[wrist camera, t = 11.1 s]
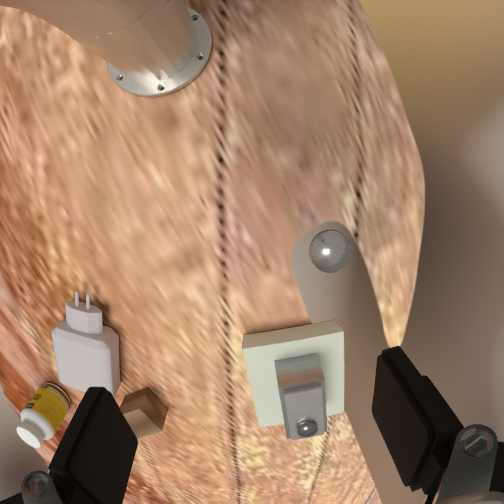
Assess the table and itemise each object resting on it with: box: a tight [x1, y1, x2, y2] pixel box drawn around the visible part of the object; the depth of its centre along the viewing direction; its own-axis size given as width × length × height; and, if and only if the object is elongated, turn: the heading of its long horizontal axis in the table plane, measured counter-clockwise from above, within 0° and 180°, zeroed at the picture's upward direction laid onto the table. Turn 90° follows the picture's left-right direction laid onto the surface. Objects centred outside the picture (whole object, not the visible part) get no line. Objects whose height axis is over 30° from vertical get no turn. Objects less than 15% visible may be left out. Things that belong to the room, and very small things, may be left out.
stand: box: [242, 320, 344, 427], centre depth 39 cm, size 14×12×4 cm
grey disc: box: [309, 230, 352, 273], centre depth 36 cm, size 5×5×1 cm
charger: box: [52, 291, 120, 397], centre depth 37 cm, size 5×9×15 cm
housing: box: [274, 353, 327, 440], centre depth 34 cm, size 9×5×7 cm, turn 10°
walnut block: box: [120, 387, 168, 438], centre depth 40 cm, size 5×5×5 cm
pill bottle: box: [17, 383, 71, 448], centre depth 37 cm, size 6×6×12 cm
